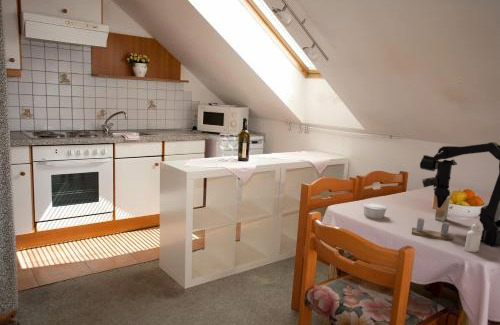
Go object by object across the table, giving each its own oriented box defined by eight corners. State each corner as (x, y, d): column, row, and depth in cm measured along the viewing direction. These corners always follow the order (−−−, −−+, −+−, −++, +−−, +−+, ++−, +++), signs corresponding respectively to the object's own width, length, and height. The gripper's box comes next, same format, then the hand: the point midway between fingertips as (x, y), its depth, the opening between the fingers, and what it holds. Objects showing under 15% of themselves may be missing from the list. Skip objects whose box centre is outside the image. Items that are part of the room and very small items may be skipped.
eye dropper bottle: (480, 253, 161) (485, 224, 159) (465, 251, 162) (470, 222, 160) (477, 249, 165) (481, 221, 163) (462, 247, 166) (466, 219, 164)
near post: (446, 234, 178) (448, 222, 177) (447, 236, 176) (449, 224, 175) (440, 233, 179) (442, 221, 178) (440, 235, 177) (442, 223, 176)
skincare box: (437, 216, 208) (441, 193, 206) (447, 218, 206) (450, 195, 203) (434, 219, 203) (437, 195, 201) (443, 221, 201) (447, 197, 199)
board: (450, 236, 180) (451, 234, 179) (451, 241, 173) (452, 239, 173) (412, 229, 185) (412, 227, 185) (411, 234, 179) (411, 231, 179)
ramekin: (371, 220, 196) (373, 209, 195) (357, 213, 206) (358, 203, 205) (390, 218, 200) (391, 208, 199) (375, 212, 210) (376, 202, 209)
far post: (422, 230, 182) (424, 218, 181) (422, 232, 179) (424, 220, 178) (416, 229, 183) (417, 217, 182) (416, 231, 180) (417, 219, 179)
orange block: (444, 207, 190) (446, 194, 189) (444, 210, 185) (446, 196, 184) (432, 206, 192) (434, 192, 191) (432, 208, 187) (434, 194, 186)
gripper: (424, 167, 197) (420, 198, 200) (424, 174, 180) (419, 208, 183) (449, 170, 193) (444, 202, 196) (452, 177, 176) (447, 212, 179)
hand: (438, 206), depth 188 cm, fingers closed on orange block, 5 cm apart
